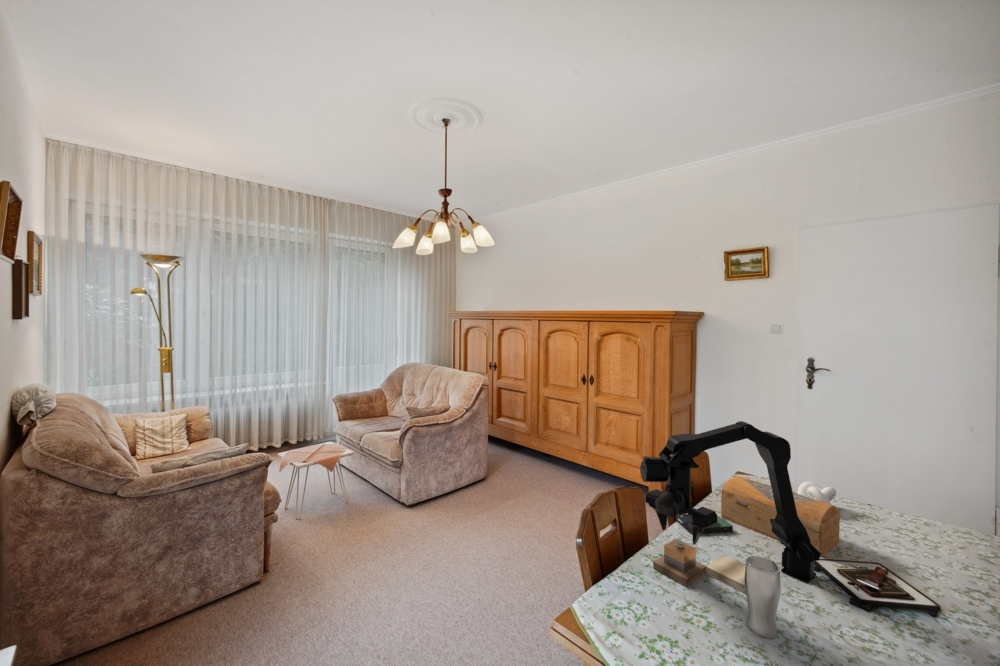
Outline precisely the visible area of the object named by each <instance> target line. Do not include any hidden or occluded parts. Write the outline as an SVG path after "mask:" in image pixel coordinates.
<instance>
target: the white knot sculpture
mask: <svg viewBox="0 0 1000 666" xmlns="http://www.w3.org/2000/svg"><path fill="white" fill-rule="evenodd" d="M797 494H800V495H803V496H806V497H809V498H812V499H816V500H819V501H822V502H825V503H828V504H831V505H832V503H831V501H832V500H833V499H835V498H836V496H837V490H836V489H835V487H833V486H826V487H824V488H822V486H821V485H819V484H818V483H816V482H814V481H805V482H802V483H801V484H800V485H799V487H798V489H797Z"/></svg>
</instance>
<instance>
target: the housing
mask: <svg viewBox="0 0 1000 666" xmlns="http://www.w3.org/2000/svg"><path fill="white" fill-rule="evenodd" d="M663 556H664V563H666V564H668V565H669V566H671V567H673V568H675V569H677V570H679V571H681V572H683V573H685V572H687V571H688V570H690V569H691V568H693V567H694V566H696V562H697V561H696V560H697V547H696V546H695V547H694V546H693V545H691V544H688V543H686V542H684V541H682V540H679V539H677V538H675V539H673V540H670V541H669V542H667V543H665V544H664V545H663Z"/></svg>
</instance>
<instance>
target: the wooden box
mask: <svg viewBox="0 0 1000 666" xmlns="http://www.w3.org/2000/svg"><path fill="white" fill-rule="evenodd" d="M792 492H793V496H794V501H795V506H796V510H797V515H798V517H799V519H800V521H801V522H802V524H803V525H804V527H805V528H806V530H807V533H808V535H809V538H810V540H811V544H812V545H813V546H814V547H815V548H816V549H817V550H818V551H819V552H820V553H821V555H820V558H822V557H823V556H824V555H826V554H827V553H828V552H830V551H831V550H832V549H834V548H835V547H837V546H838V545H839V544H840V523H841V521H840V520H841V512H840V509H838V508H837V507H836V506H835V505H832V503H831V504H828V503H825V502H822V501H819V500H816V499H812V498H809V497H808V496H807V497H806V496H803V495H800V494H797V493H798V492H797V493H796V492H794V491H792ZM720 501H721V503H720V504H721V506H720V507H721V508H720V509H721V511H720V512H721V514H720V515H721V518H722V519H724V520H725V521H727V522H728V521H729V522H731V523H734V524H736V525H738V526H740V527H743V528H746V529H748V530H751V531H753V532H754V533H755V532H756V533H758V534H760V535H763V536H765V537H768V538H770V539H773V540H776V541H779V542H780V540H779V539H778V538H777V537H776V535H775V534H774V533H773V532H772V525H771V522H770V519H775V517H776V515H777V511H776V507H775V502H774V497H773V493H772V488H771V484H766V483H763V482H758V481H755V480H753V479H748V478H745V477H742V476H738V475H737V476H732V477H730V478H729V479H728V480H727V481H725V482H724V485H723V486H722V489H721V499H720Z"/></svg>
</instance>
